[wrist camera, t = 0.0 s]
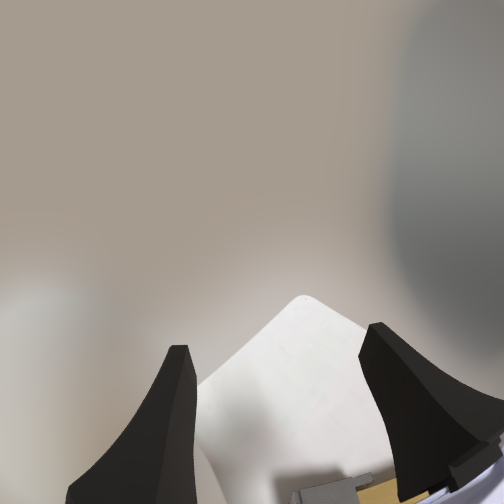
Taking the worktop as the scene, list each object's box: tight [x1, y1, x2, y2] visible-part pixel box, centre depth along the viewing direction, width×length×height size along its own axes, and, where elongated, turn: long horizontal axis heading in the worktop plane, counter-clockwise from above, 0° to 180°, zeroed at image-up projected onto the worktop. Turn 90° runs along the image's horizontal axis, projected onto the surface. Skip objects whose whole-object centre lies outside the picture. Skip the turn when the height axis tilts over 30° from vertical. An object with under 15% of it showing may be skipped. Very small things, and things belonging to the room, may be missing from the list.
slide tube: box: [357, 478, 429, 504], centre depth 14 cm, size 4×15×4 cm, turn 96°
